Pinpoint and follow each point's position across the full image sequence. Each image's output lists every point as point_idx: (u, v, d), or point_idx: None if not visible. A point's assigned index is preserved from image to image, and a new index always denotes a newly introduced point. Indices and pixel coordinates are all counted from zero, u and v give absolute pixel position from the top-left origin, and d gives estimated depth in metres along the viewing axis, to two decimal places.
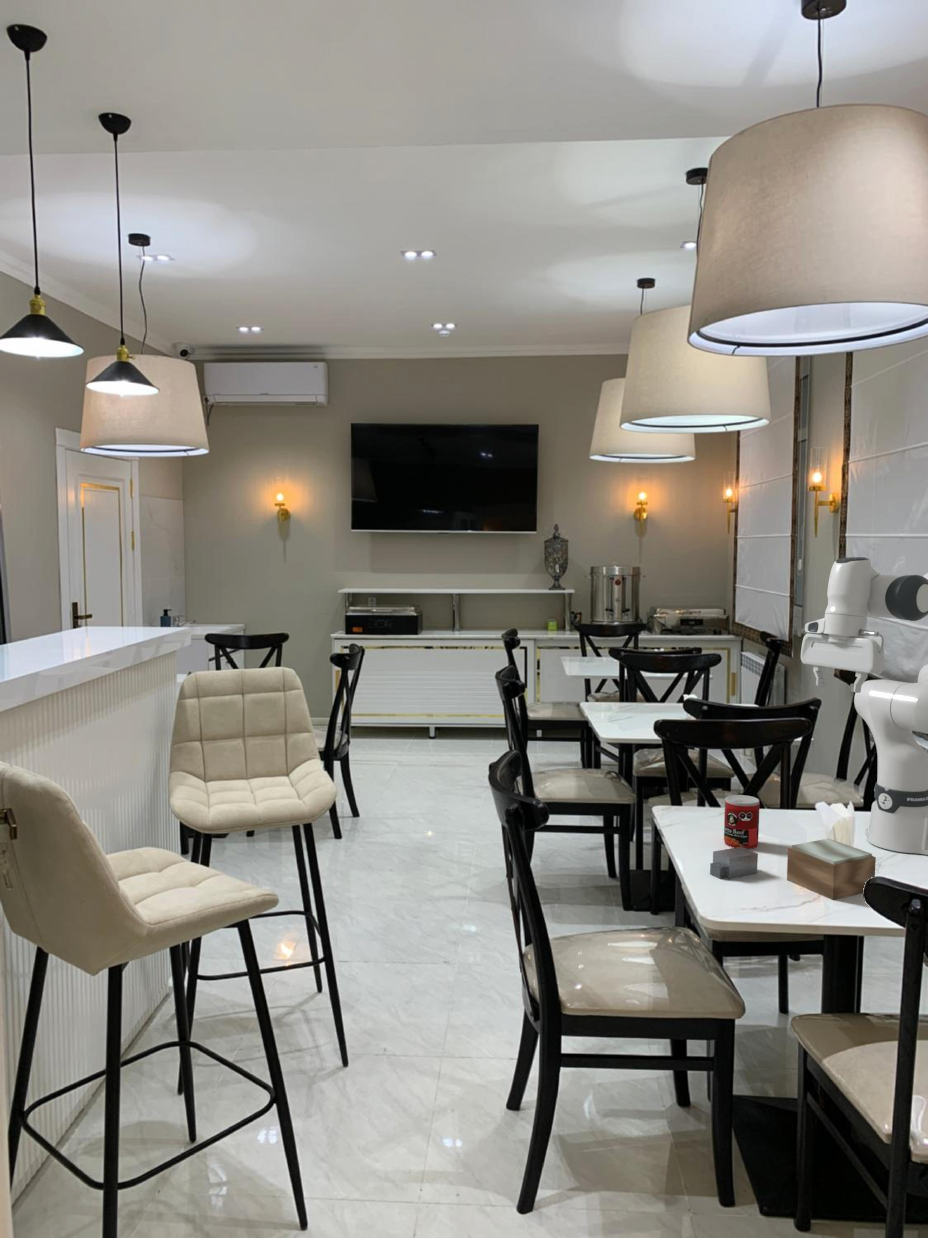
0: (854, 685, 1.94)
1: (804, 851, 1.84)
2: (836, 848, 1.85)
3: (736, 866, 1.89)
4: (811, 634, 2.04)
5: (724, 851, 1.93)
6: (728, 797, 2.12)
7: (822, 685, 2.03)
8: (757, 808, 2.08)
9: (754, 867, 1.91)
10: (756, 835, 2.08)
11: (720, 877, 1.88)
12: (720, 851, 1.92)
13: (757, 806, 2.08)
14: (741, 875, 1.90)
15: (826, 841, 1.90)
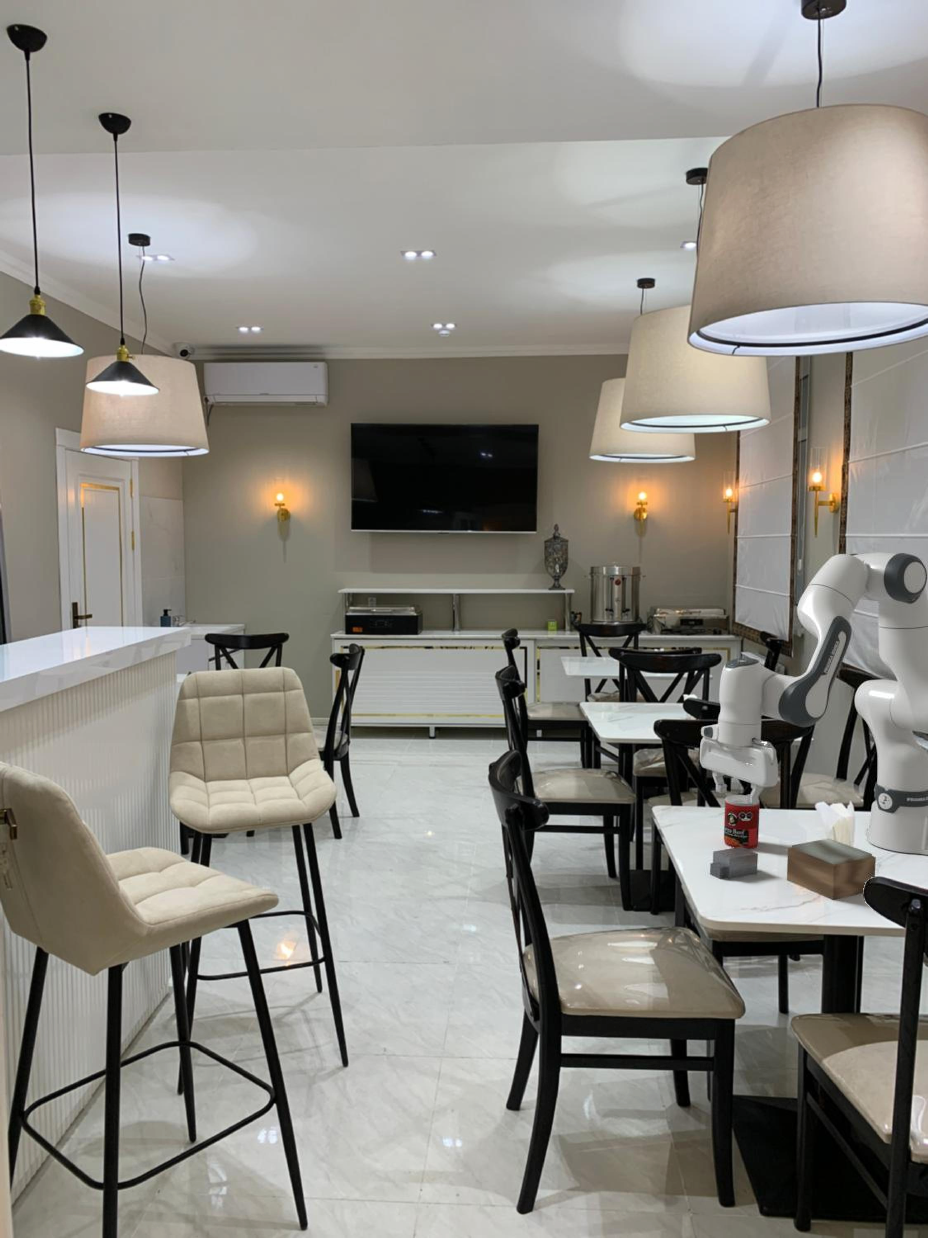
0: (750, 797, 1.86)
1: (804, 851, 1.84)
2: (836, 848, 1.85)
3: (736, 866, 1.89)
4: (707, 739, 1.95)
5: (724, 851, 1.93)
6: (728, 797, 2.12)
7: (722, 791, 1.94)
8: (757, 808, 2.08)
9: (754, 867, 1.91)
10: (756, 835, 2.08)
11: (720, 877, 1.88)
12: (720, 851, 1.92)
13: (757, 806, 2.08)
14: (741, 875, 1.90)
15: (826, 841, 1.90)
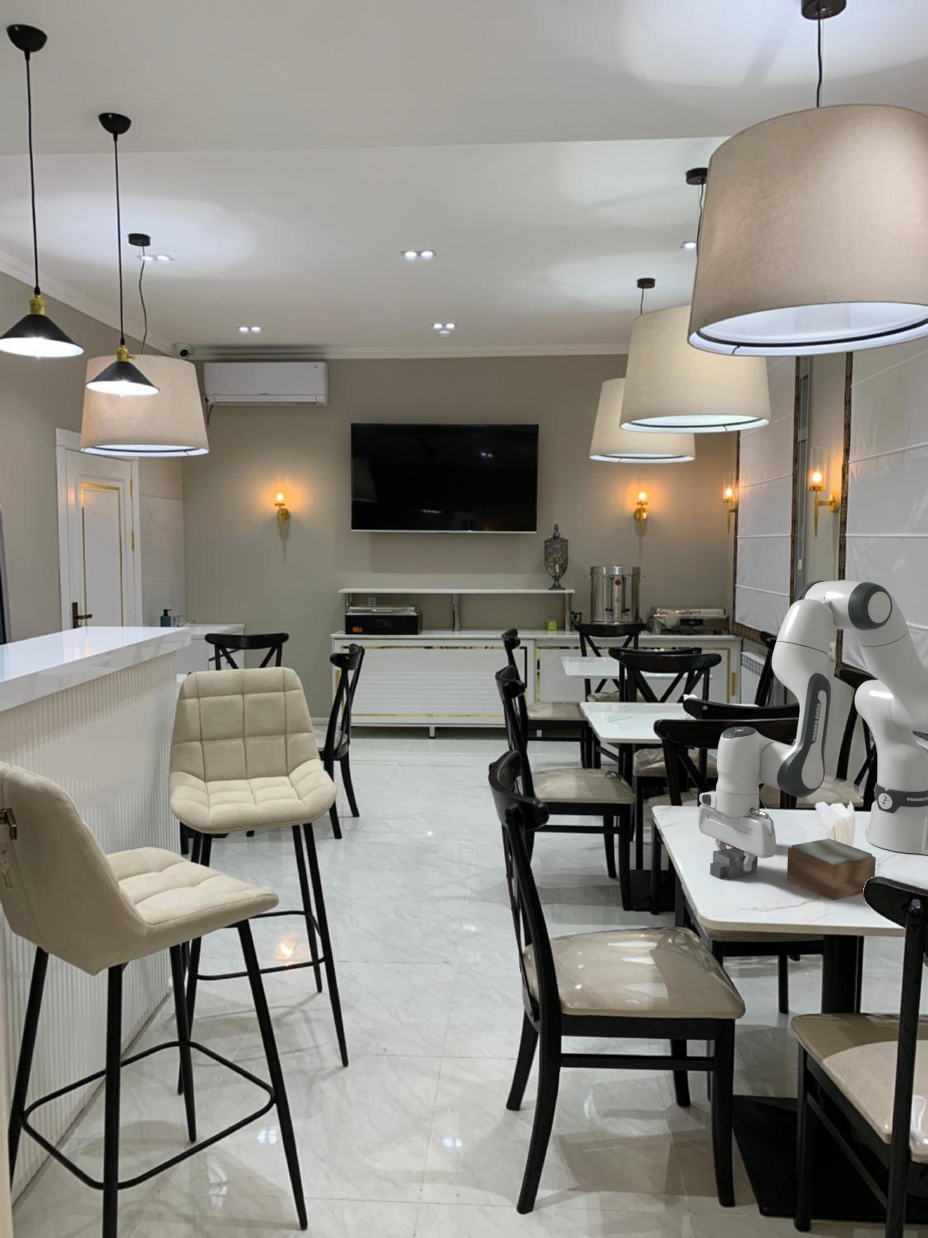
0: (744, 864, 1.88)
1: (804, 851, 1.84)
2: (836, 848, 1.85)
3: (736, 866, 1.89)
4: (706, 806, 1.96)
5: (724, 851, 1.93)
6: None
7: None
8: None
9: (754, 867, 1.91)
10: None
11: (720, 877, 1.88)
12: (720, 851, 1.92)
13: None
14: (741, 875, 1.90)
15: (826, 841, 1.90)
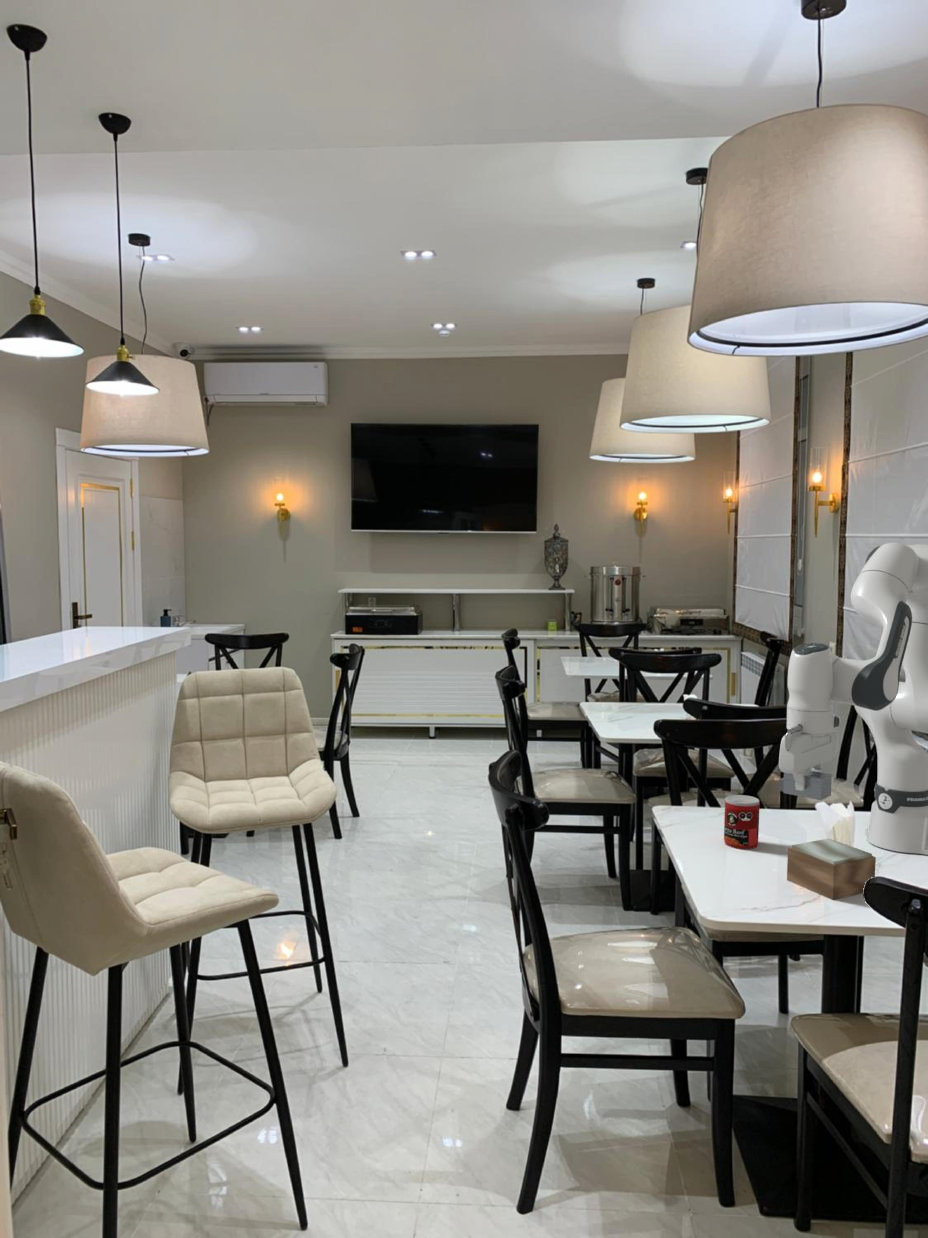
0: None
1: (804, 851, 1.84)
2: (836, 848, 1.85)
3: (792, 782, 1.86)
4: None
5: None
6: (728, 797, 2.12)
7: None
8: (757, 808, 2.08)
9: (817, 792, 1.82)
10: (756, 835, 2.08)
11: (779, 789, 1.89)
12: None
13: (757, 806, 2.08)
14: (799, 794, 1.85)
15: (826, 841, 1.90)
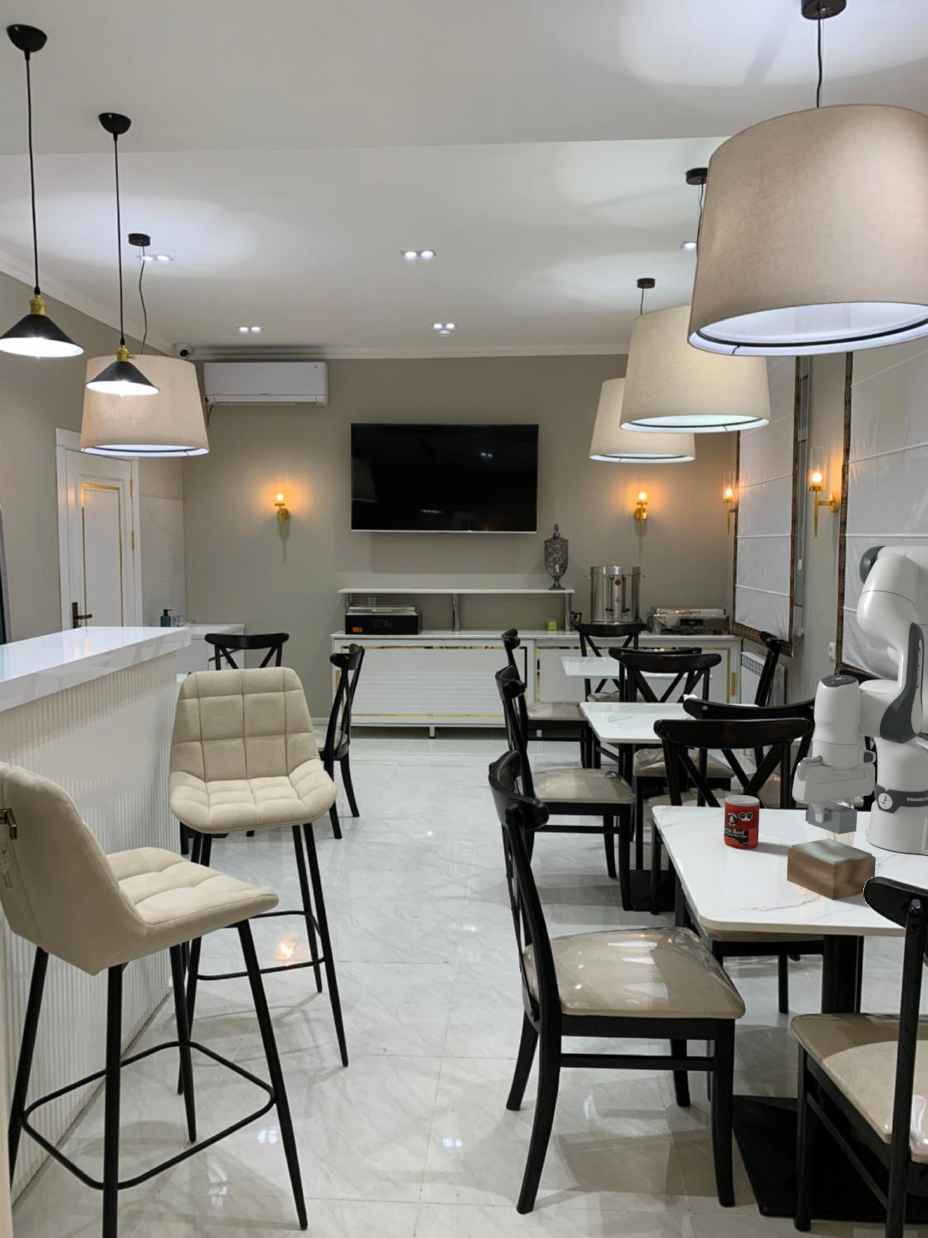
0: None
1: (804, 851, 1.84)
2: (836, 848, 1.85)
3: None
4: None
5: (832, 803, 1.86)
6: (728, 797, 2.12)
7: None
8: (757, 808, 2.08)
9: (836, 825, 1.80)
10: (756, 835, 2.08)
11: (806, 819, 1.88)
12: (828, 802, 1.87)
13: (757, 806, 2.08)
14: (821, 826, 1.84)
15: (826, 841, 1.90)
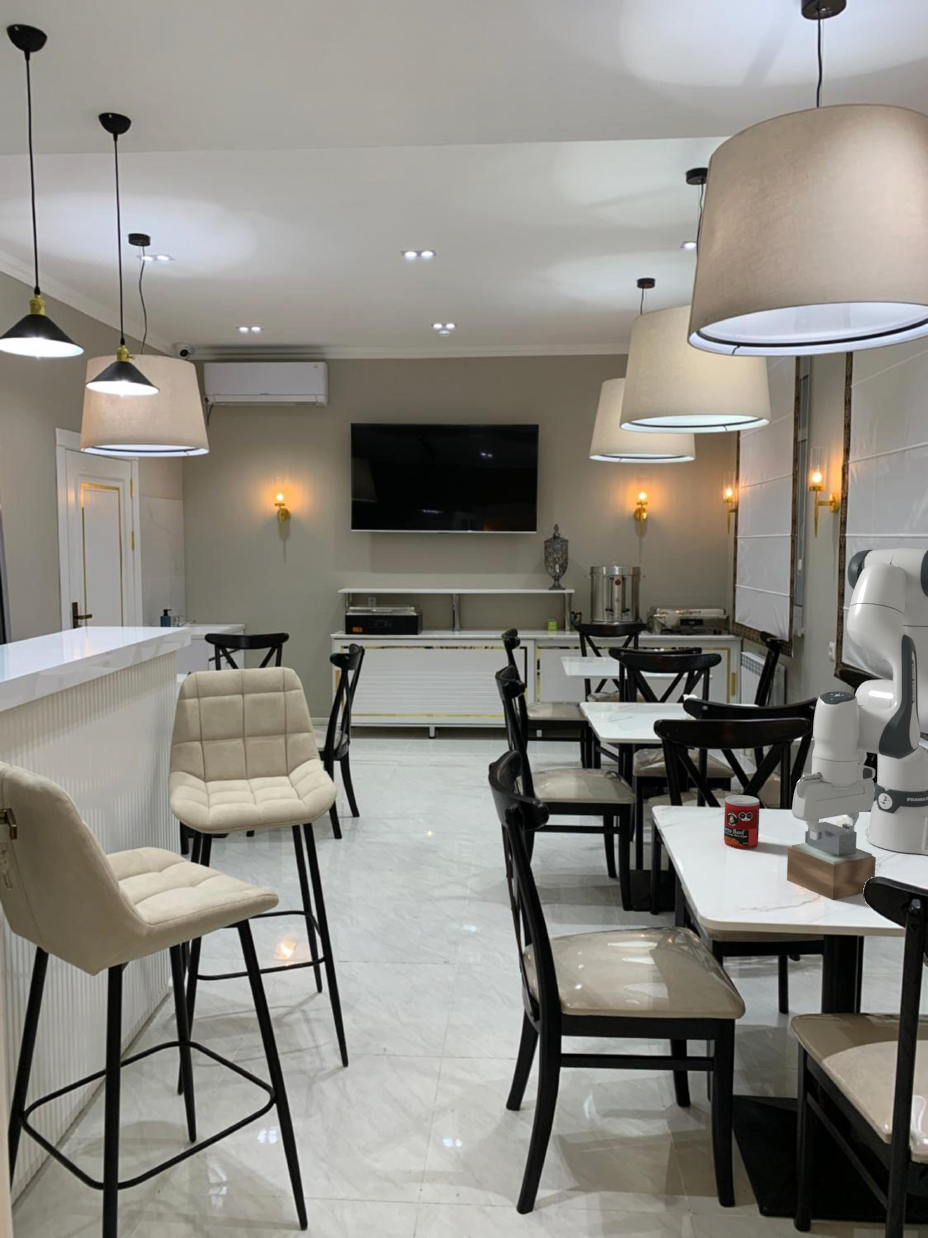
0: None
1: (804, 851, 1.84)
2: None
3: None
4: None
5: (831, 825, 1.87)
6: (728, 797, 2.12)
7: None
8: (757, 808, 2.08)
9: (835, 848, 1.81)
10: (756, 835, 2.08)
11: (806, 841, 1.89)
12: (827, 824, 1.88)
13: (757, 806, 2.08)
14: (821, 848, 1.84)
15: None
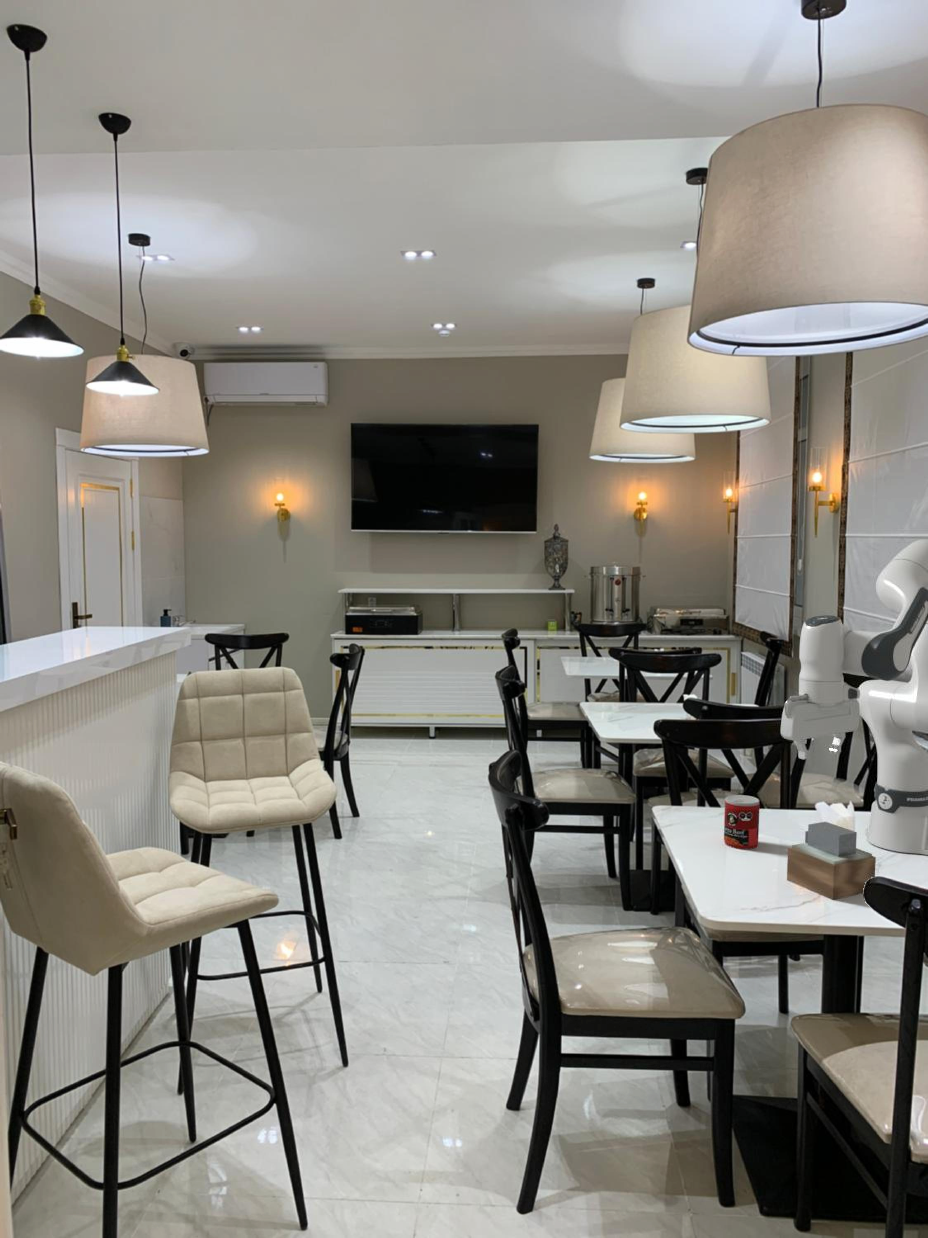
0: None
1: (804, 851, 1.84)
2: None
3: (815, 836, 1.85)
4: None
5: (831, 825, 1.87)
6: (728, 797, 2.12)
7: (831, 751, 1.92)
8: (757, 808, 2.08)
9: (835, 848, 1.81)
10: (756, 835, 2.08)
11: (806, 841, 1.89)
12: (827, 824, 1.88)
13: (757, 806, 2.08)
14: (821, 848, 1.84)
15: None
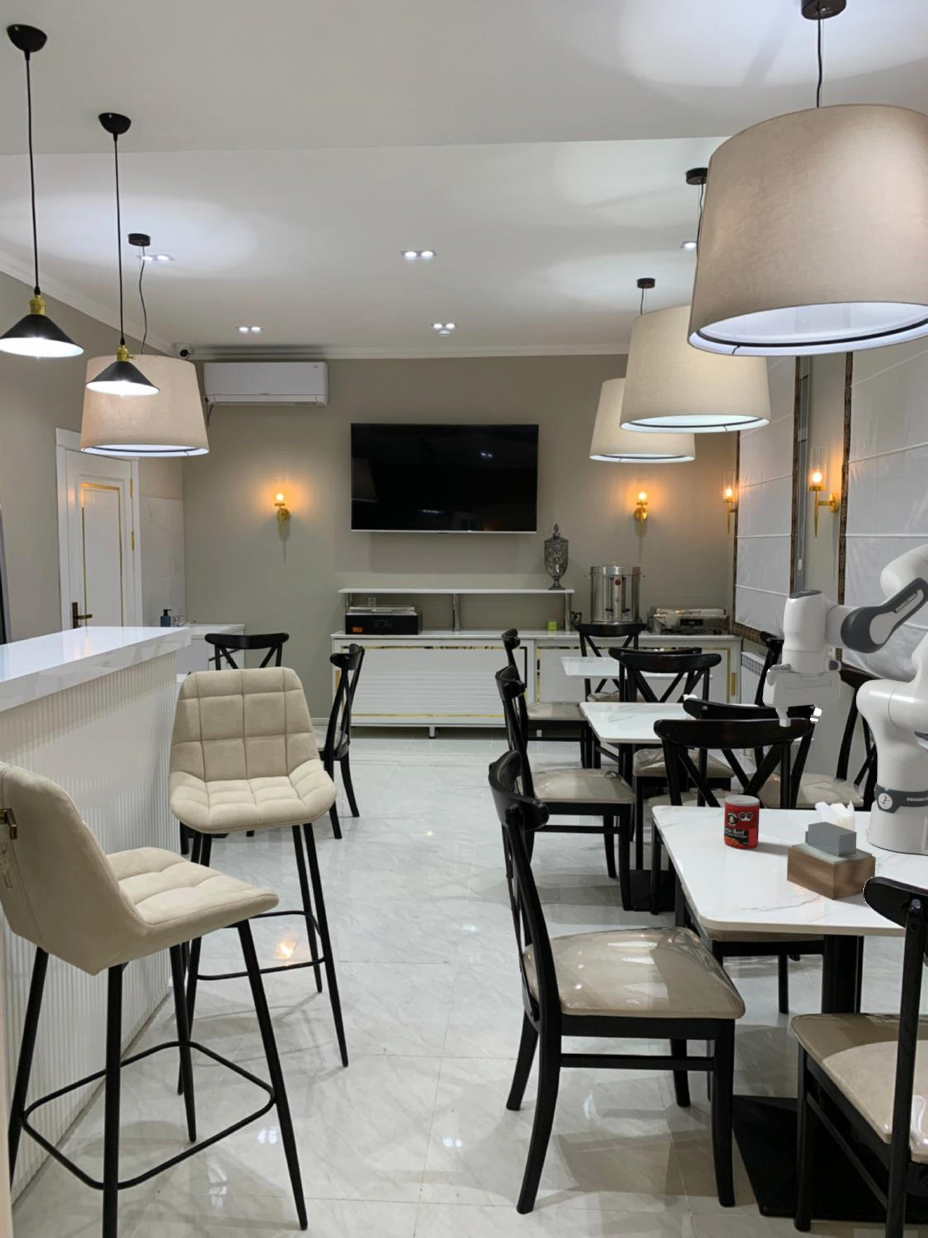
0: None
1: (804, 851, 1.84)
2: None
3: (815, 836, 1.85)
4: None
5: (831, 825, 1.87)
6: (728, 797, 2.12)
7: (812, 721, 2.00)
8: (757, 808, 2.08)
9: (835, 848, 1.81)
10: (756, 835, 2.08)
11: (806, 841, 1.89)
12: (827, 824, 1.88)
13: (757, 806, 2.08)
14: (821, 848, 1.84)
15: None
